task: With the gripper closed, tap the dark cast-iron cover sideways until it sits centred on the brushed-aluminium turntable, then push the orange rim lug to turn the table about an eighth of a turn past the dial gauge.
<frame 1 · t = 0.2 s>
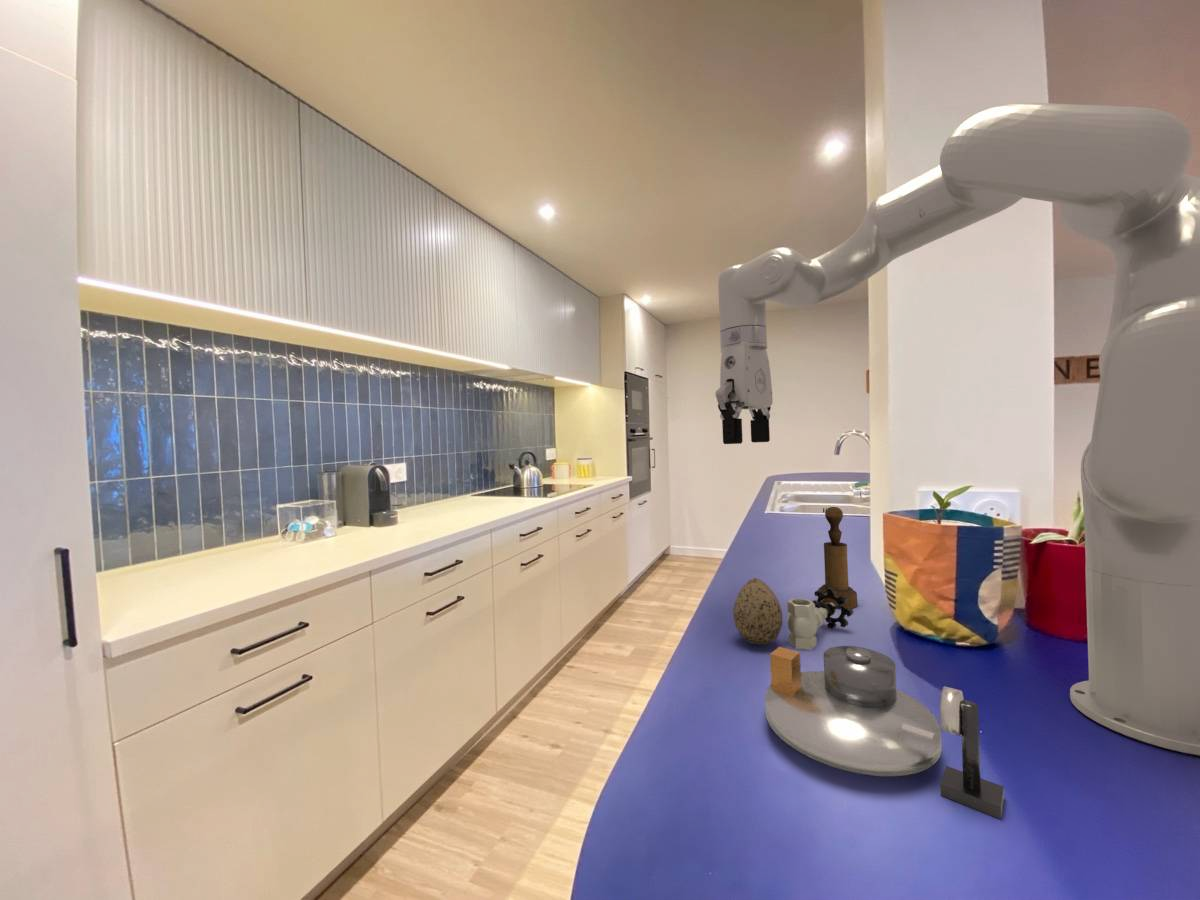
hand: (747, 442, 80), 31 cm above the counter, tool pointing down, fingers open, 9 cm apart
cover: (859, 690, 52), point 3 cm above the counter, touching turntable
decorative egg: (758, 644, 73), on the counter
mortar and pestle: (837, 604, 88), on the counter
turntable: (845, 696, 49), point 4 cm above the counter, hinge at 0.0°, touching cover
valve: (815, 639, 74), on the counter
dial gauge: (972, 796, 41), on the counter
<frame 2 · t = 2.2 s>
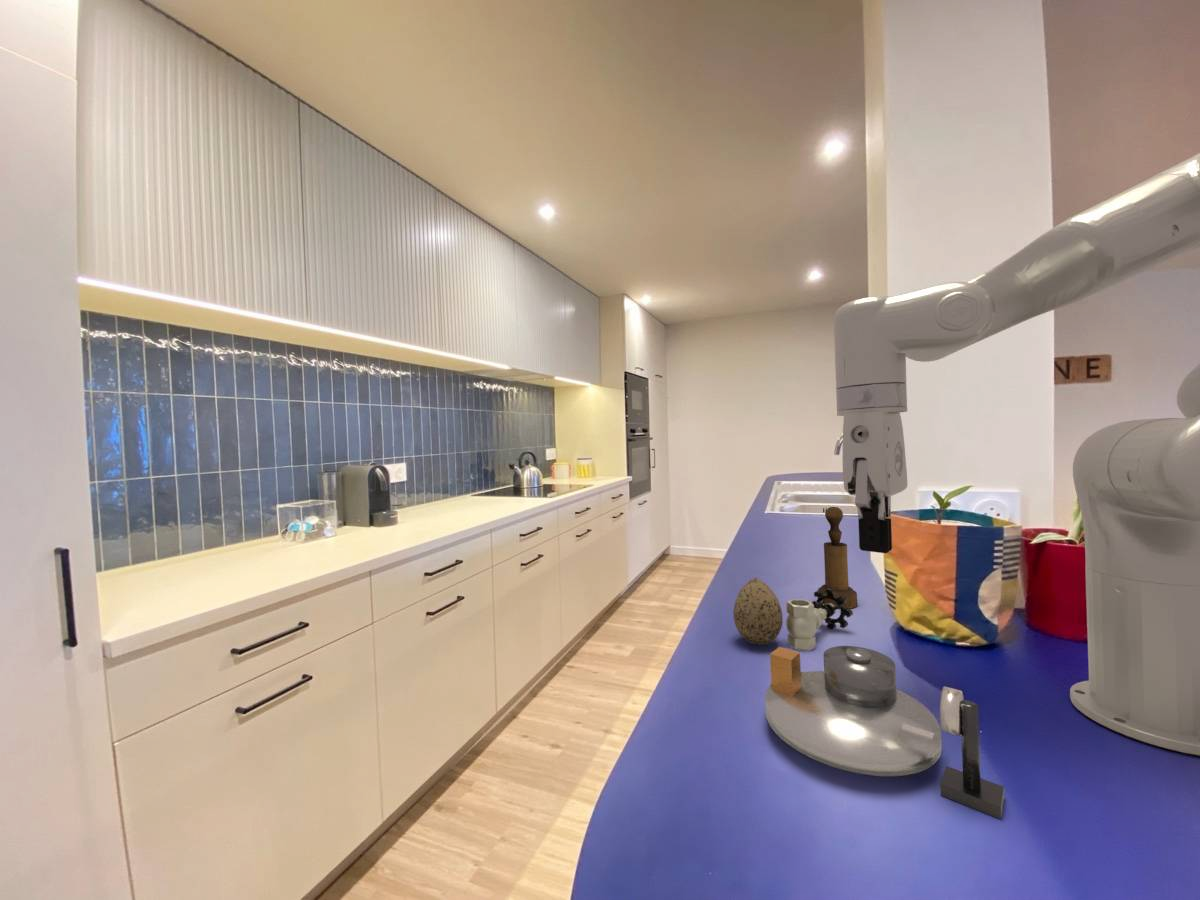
hand: (875, 550, 58), 17 cm above the counter, tool pointing down, fingers closed
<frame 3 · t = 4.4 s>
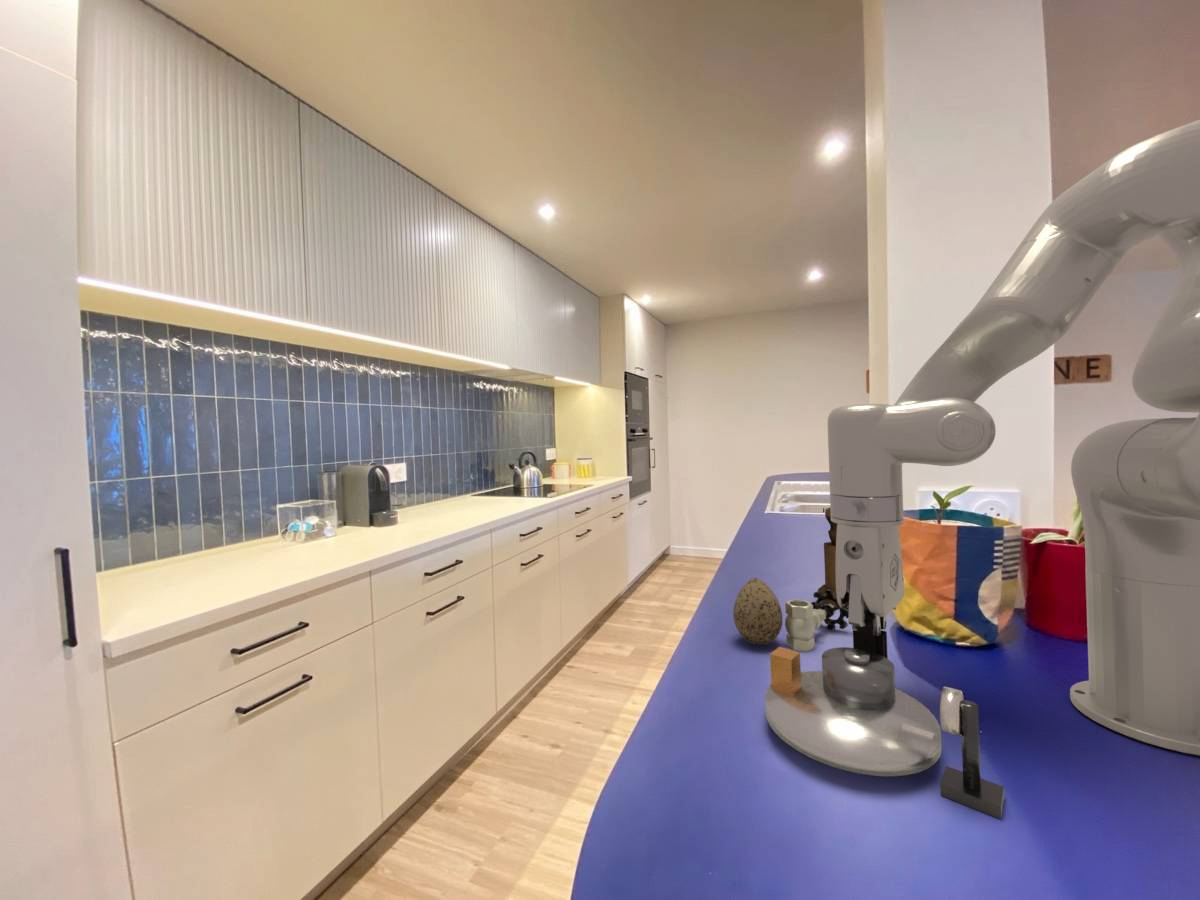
hand: (870, 663, 56), 4 cm above the counter, tool pointing down, fingers closed
cover: (858, 692, 52), point 3 cm above the counter, touching gripper, turntable
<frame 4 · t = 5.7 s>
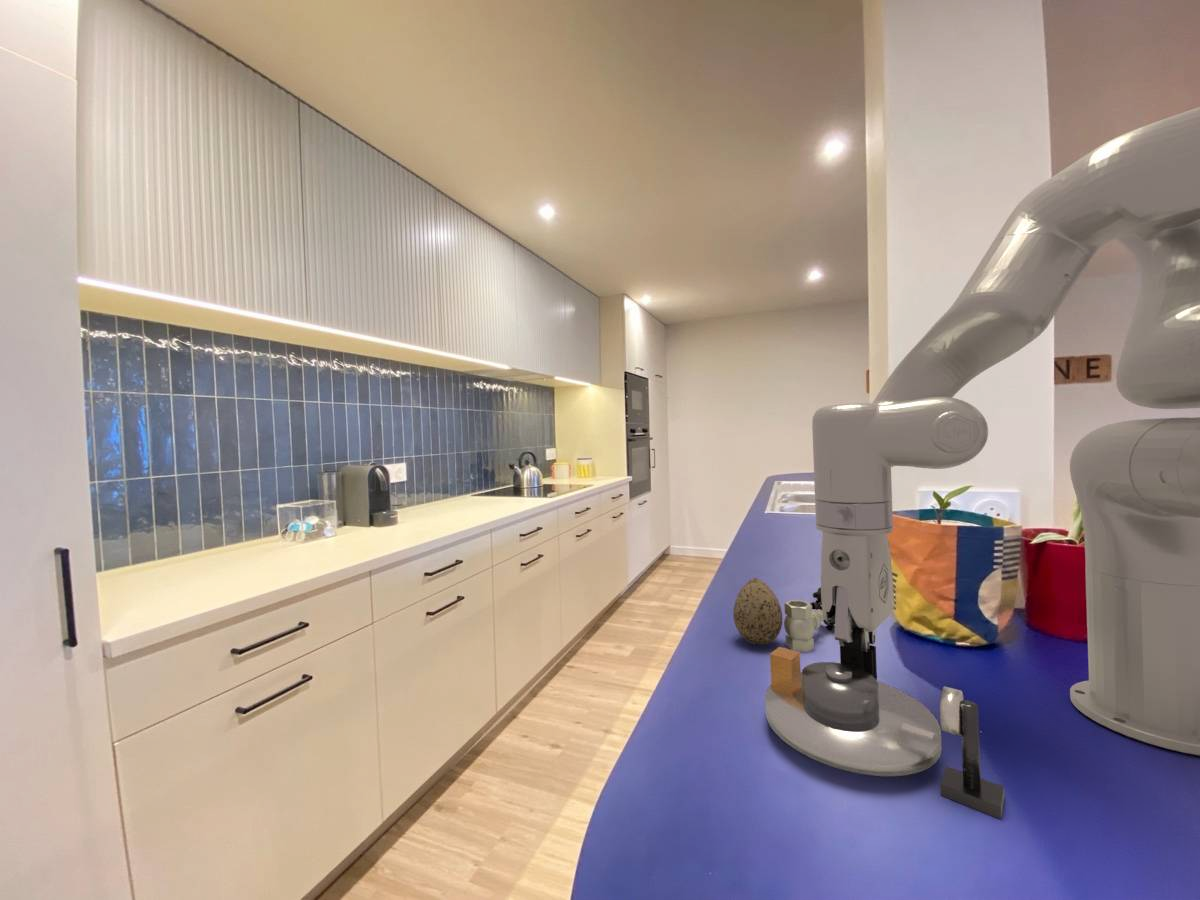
hand: (858, 680, 52), 4 cm above the counter, tool pointing down, fingers closed
cover: (840, 711, 49), point 3 cm above the counter, touching turntable
everything else where it was.
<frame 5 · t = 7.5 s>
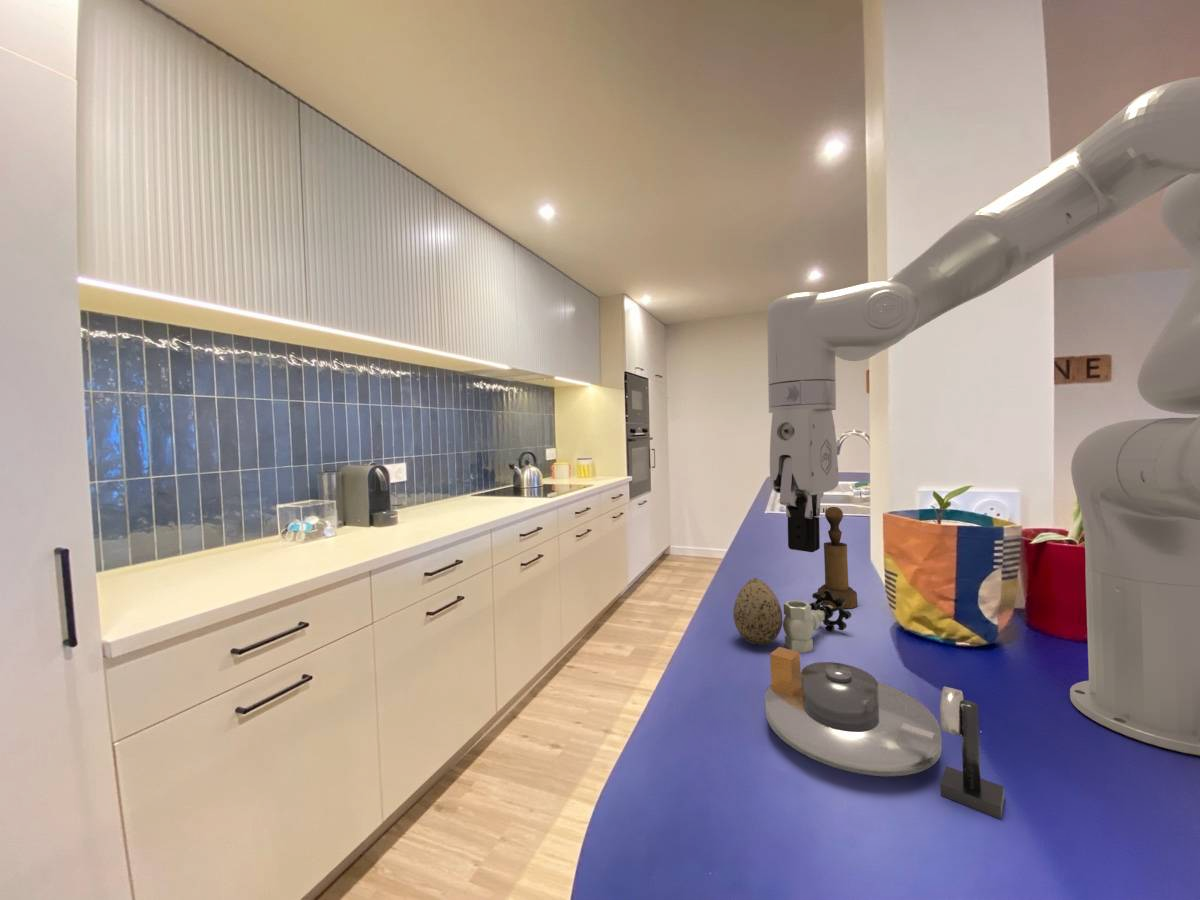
hand: (803, 549, 58), 18 cm above the counter, tool pointing down, fingers closed
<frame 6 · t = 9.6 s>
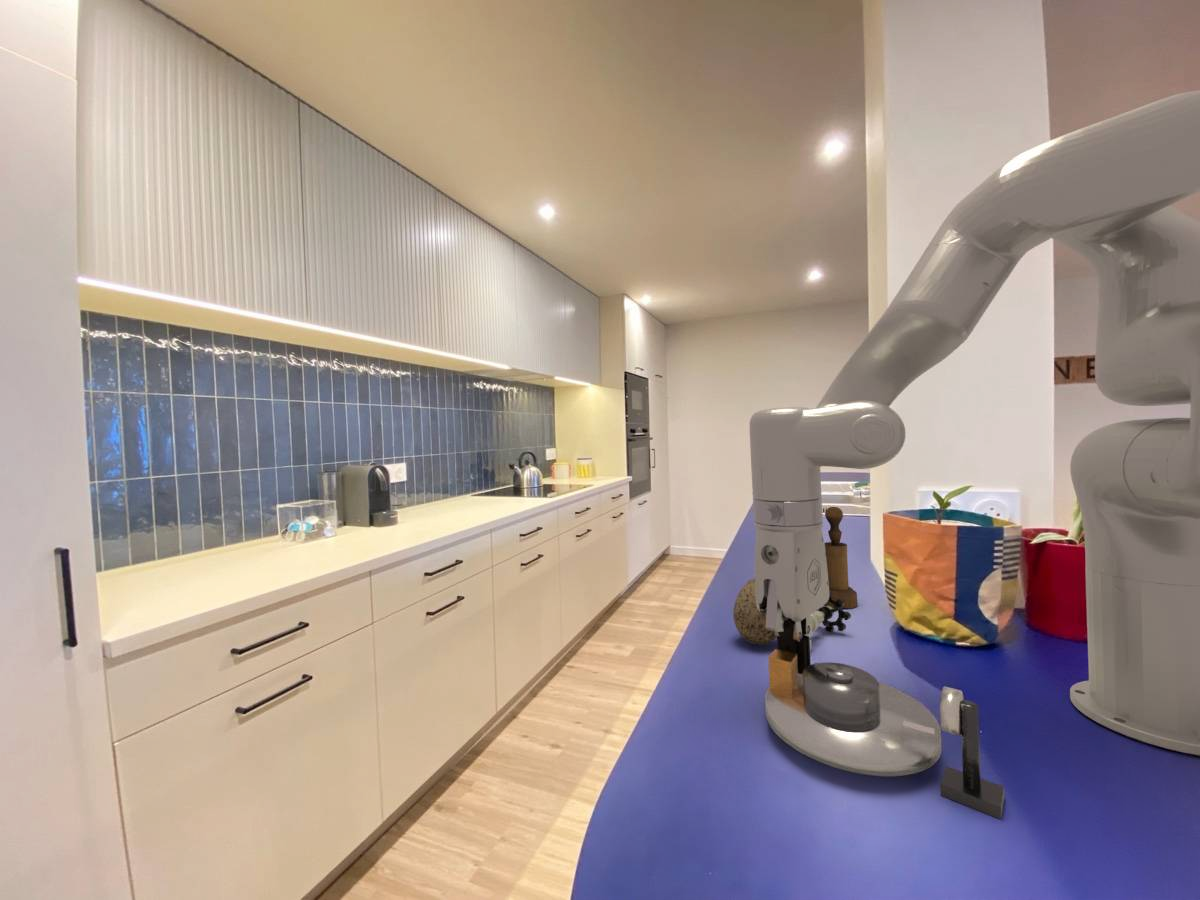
hand: (794, 668, 56), 4 cm above the counter, tool pointing down, fingers closed
turntable: (845, 696, 49), point 4 cm above the counter, hinge at 6.3°, touching cover, gripper
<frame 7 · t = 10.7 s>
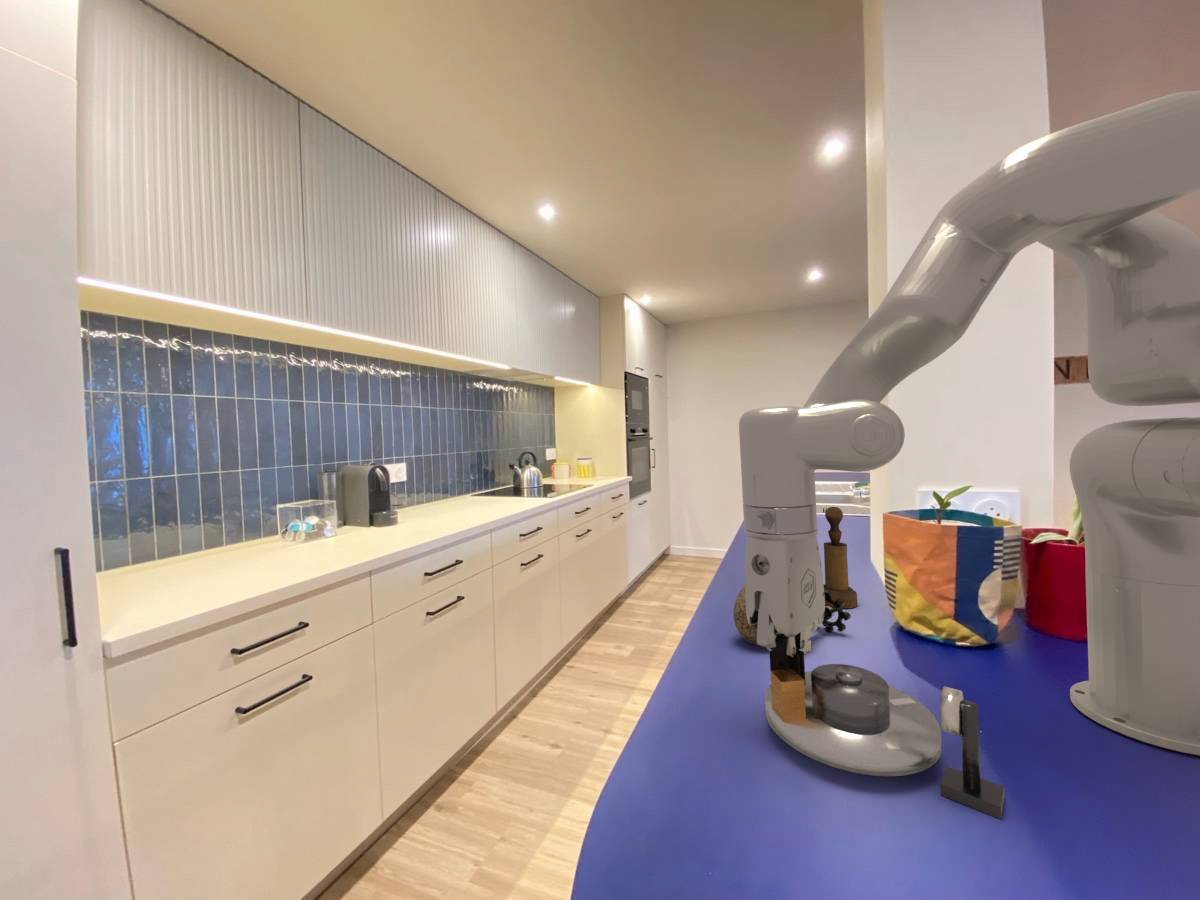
hand: (788, 685, 52), 4 cm above the counter, tool pointing down, fingers closed
turntable: (845, 696, 49), point 4 cm above the counter, hinge at 50.0°, touching cover, gripper
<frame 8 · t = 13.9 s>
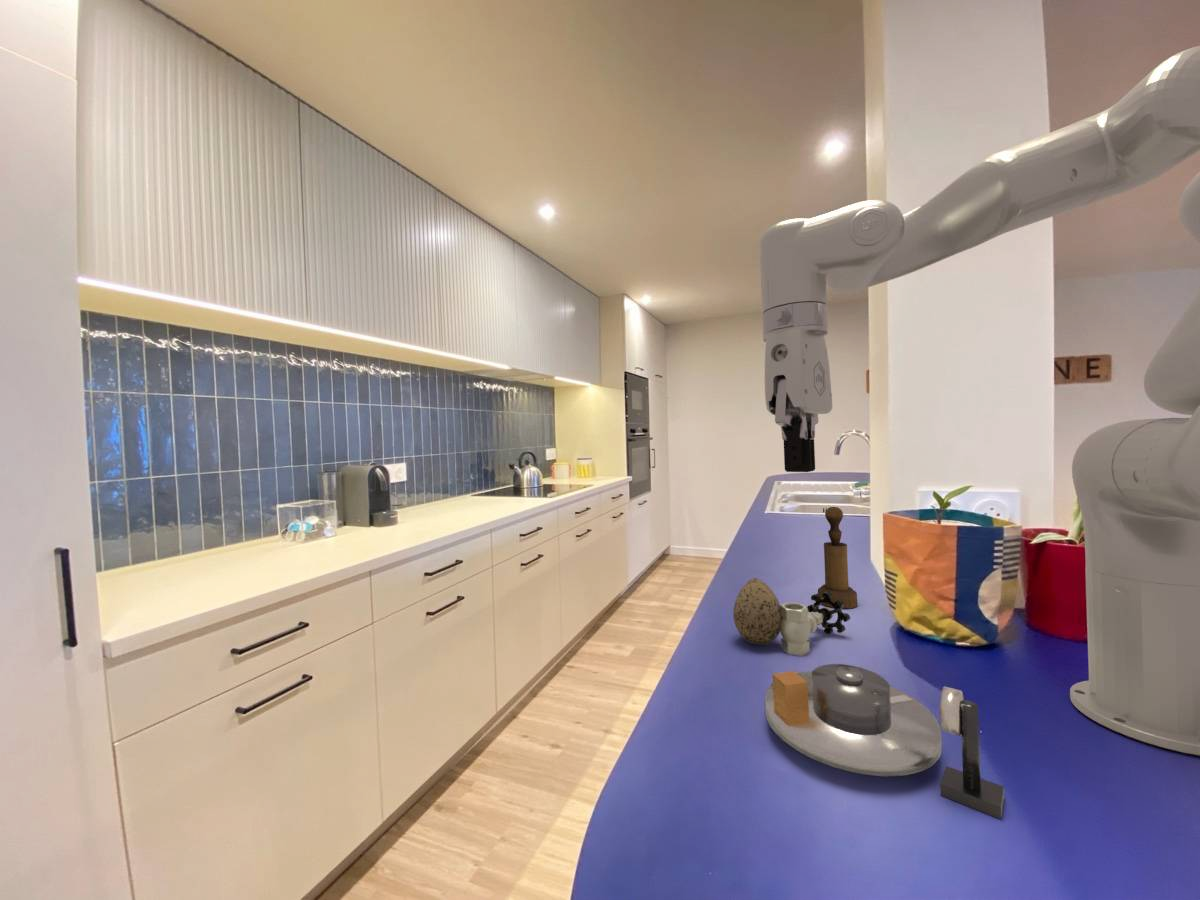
hand: (799, 471, 60), 27 cm above the counter, tool pointing down, fingers closed
turntable: (845, 696, 49), point 4 cm above the counter, hinge at 54.6°, touching cover
at the end: cover 1.1 cm from the turntable (horizontally); turntable at +55° (first picture: +0°); cover tilted 0° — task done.
